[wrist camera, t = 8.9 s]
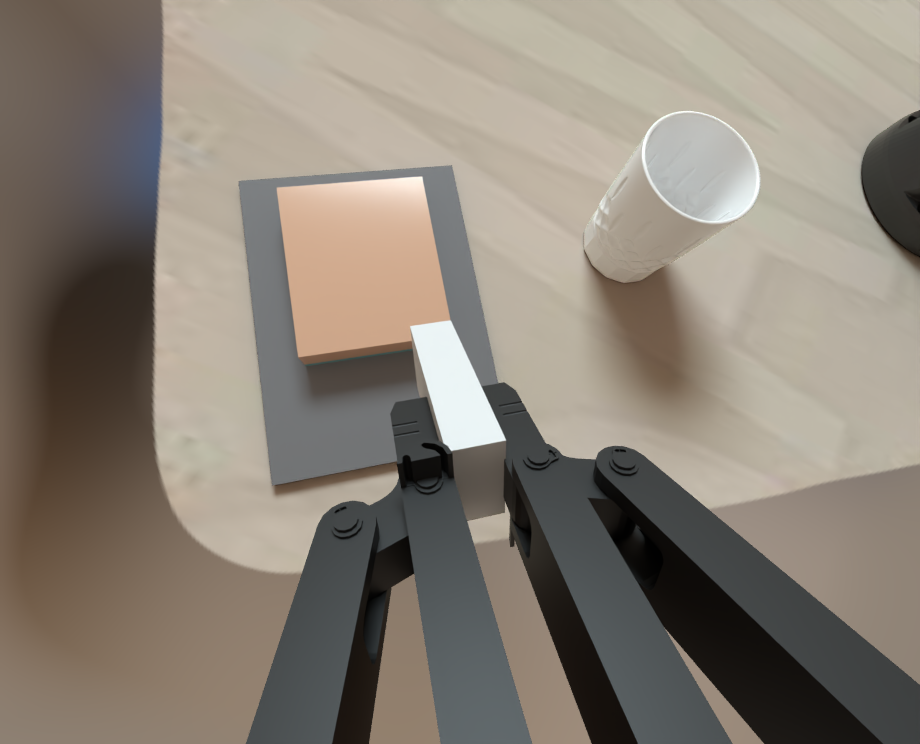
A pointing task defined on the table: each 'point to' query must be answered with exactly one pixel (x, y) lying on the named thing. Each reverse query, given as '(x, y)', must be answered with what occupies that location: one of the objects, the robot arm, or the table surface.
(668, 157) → the white cup
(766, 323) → the table surface
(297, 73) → the table surface
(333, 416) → the mat
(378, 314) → the tile
